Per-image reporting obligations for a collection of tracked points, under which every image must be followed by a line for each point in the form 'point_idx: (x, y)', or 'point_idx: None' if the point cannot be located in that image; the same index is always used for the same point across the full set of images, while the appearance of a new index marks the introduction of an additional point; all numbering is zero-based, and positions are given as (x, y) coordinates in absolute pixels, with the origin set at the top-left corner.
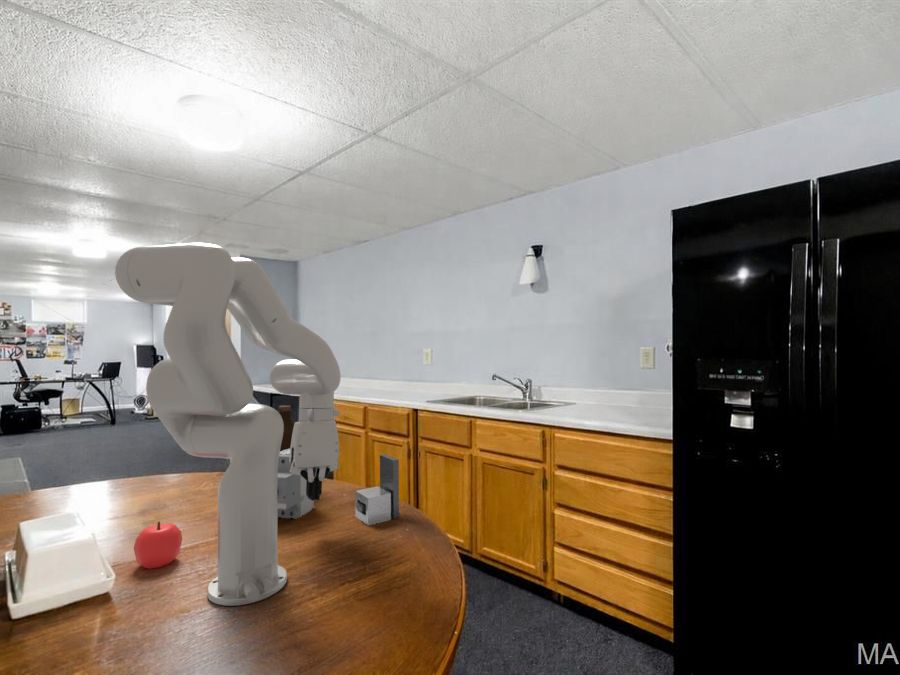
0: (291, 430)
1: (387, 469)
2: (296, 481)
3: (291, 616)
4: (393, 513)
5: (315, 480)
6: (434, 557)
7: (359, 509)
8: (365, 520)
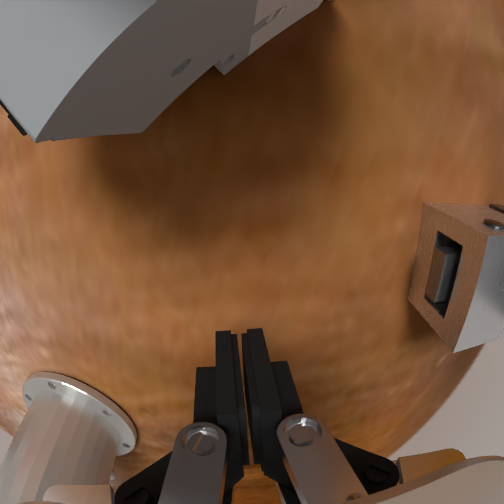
0: None
1: None
2: (206, 11)
3: None
4: None
5: (261, 446)
6: (377, 452)
7: (430, 278)
8: (416, 287)
